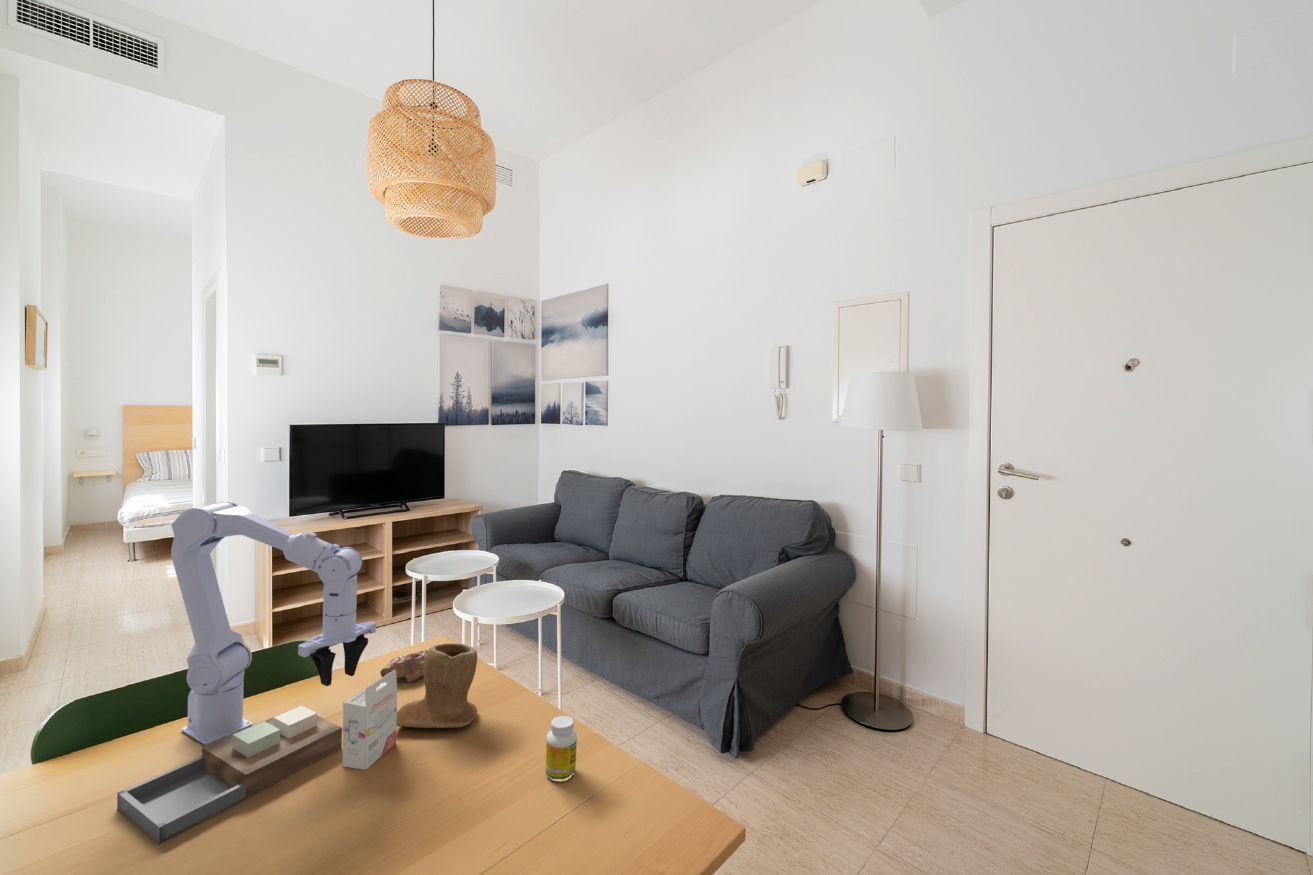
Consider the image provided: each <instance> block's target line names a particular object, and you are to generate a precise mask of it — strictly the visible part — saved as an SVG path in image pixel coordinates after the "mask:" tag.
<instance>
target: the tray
mask: <svg viewBox="0 0 1313 875" xmlns="http://www.w3.org/2000/svg"><path fill="white" fill-rule="evenodd" d="M245 795H246V784H245V783H241V784H239V785H237V786H235V787H233V788H232V787H230V786H229V785H227V784H226V783H224V782H223V781H221V780H220V779H218V778H217V777H215V776H214V775H212V774H211V773H209V772H208V771H206V770H205V769H204V757H203V756H202V755H201V756H198V757H196V758H194V759H191V760H189V761H187V762H185V763H182V764H180V765H178V766H175V767H173V768H171V769H169V770H166V771H164V772H162V773H160V774H157V775H154V776H152V777H151V778H148V779H146V780H143V781H141V782H138V783H136V784H134V785H132V786H130V787H128V788H125V789H123V790H120V791H118V792H117V799H116V800H117V802H116V804H117V806H116V808H117V809H118V810H119V811H120V812H121V813H122V814H123V815H124V816H125V817H127V818H128V819H129V820H130V821H131V822H132V823H134V825H136V826H137V827H138V828H140V829H141V830H142V831H143V832H144V833H145V834H147V835H148V836H149V837H150V838H151V839H153V840H154V841H155V842H156V843H157V844H158V845H161V844H162V843H165V842H166V841H169V840H170V839H172V838H174V837H176V836H178V835H180V834H181V833H184V832H186V831H188V830H189V829H192V828H193V827H195V826H197V825H199V824H201V823H202V822H205V821H206V820H208V819H210V818H213V817H214V816H216V815H218V814H220V813H222V812H223V811H225V810H228V809H229V808H231V807H233V806H235V805H237V804H239V803H241V802H243V801H244V800H246V799H245Z"/></svg>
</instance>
